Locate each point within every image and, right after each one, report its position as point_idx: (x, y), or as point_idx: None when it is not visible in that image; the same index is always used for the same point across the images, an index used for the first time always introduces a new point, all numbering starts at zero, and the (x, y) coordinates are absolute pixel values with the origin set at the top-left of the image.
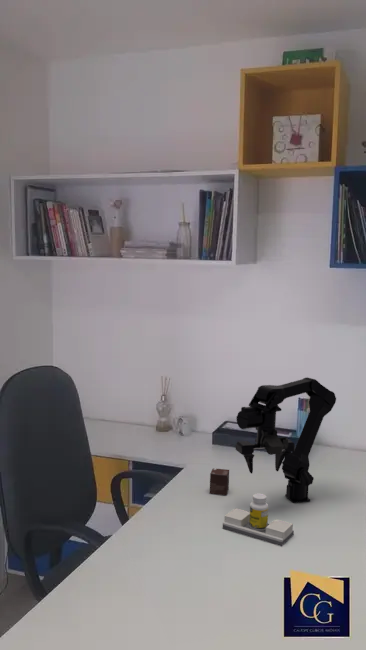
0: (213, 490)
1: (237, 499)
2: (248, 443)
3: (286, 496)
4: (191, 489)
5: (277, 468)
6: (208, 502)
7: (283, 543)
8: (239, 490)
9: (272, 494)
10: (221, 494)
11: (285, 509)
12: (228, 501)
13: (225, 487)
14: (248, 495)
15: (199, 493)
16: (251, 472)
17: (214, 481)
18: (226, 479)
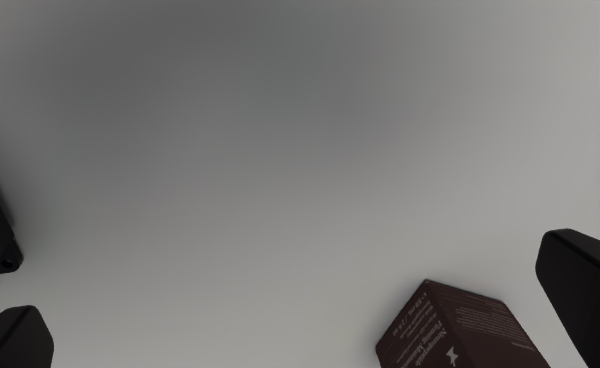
0: (501, 313)
1: (383, 229)
2: None
3: (12, 242)
4: (558, 350)
5: (2, 347)
6: (575, 200)
7: None
8: (316, 339)
9: (116, 287)
10: (452, 289)
11: (64, 20)
12: (453, 205)
13: (453, 319)
14: (288, 279)
15: (549, 309)
16: (582, 234)
17: (530, 361)
18: (478, 365)
